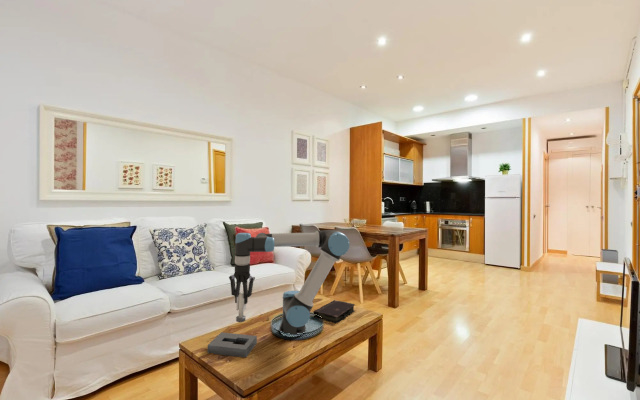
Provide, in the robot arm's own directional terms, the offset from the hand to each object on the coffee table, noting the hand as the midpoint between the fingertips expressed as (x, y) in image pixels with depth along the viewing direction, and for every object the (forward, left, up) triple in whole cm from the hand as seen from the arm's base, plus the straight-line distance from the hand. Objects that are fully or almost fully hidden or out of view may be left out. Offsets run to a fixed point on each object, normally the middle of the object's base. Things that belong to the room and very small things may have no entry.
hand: (241, 309), depth 155 cm
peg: (0, 0, -5) cm, 5 cm away
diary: (-42, -54, -21) cm, 72 cm away
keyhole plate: (+4, +1, -20) cm, 20 cm away
